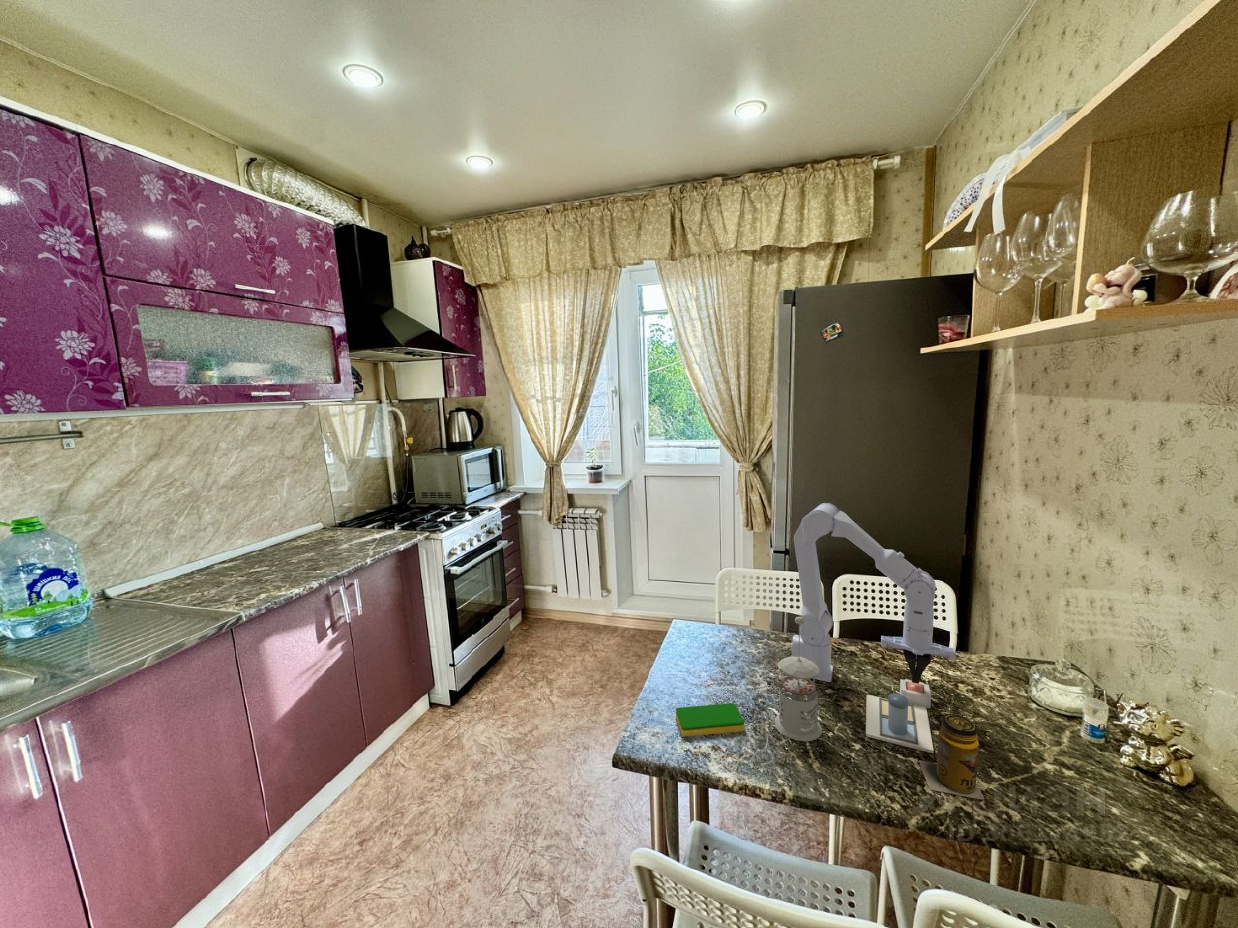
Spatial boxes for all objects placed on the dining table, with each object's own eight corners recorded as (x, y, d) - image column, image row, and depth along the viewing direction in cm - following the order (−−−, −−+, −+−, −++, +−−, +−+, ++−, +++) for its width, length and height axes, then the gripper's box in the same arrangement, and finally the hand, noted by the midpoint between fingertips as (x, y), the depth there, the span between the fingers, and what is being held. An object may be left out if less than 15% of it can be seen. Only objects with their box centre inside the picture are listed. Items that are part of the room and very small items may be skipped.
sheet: (865, 736, 102) (866, 732, 102) (866, 696, 115) (866, 693, 115) (933, 753, 97) (933, 749, 97) (926, 710, 110) (926, 706, 110)
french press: (766, 727, 106) (767, 618, 103) (789, 702, 114) (790, 601, 111) (811, 748, 99) (813, 632, 96) (832, 719, 108) (834, 612, 104)
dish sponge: (745, 732, 105) (745, 722, 105) (682, 738, 104) (682, 728, 104) (734, 711, 112) (734, 702, 112) (675, 717, 111) (675, 707, 111)
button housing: (901, 702, 113) (901, 690, 112) (899, 689, 118) (900, 677, 117) (930, 709, 110) (931, 697, 110) (928, 695, 115) (928, 683, 115)
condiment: (985, 800, 85) (989, 737, 84) (929, 790, 88) (933, 729, 86) (969, 770, 92) (973, 711, 91) (918, 761, 95) (921, 704, 93)
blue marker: (887, 731, 102) (887, 700, 101) (888, 721, 105) (888, 691, 104) (907, 737, 100) (908, 706, 99) (908, 726, 103) (908, 696, 102)
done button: (907, 699, 113) (908, 687, 113) (906, 692, 116) (907, 680, 115) (922, 702, 112) (923, 690, 111) (921, 695, 114) (922, 683, 114)
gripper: (882, 627, 111) (880, 682, 113) (959, 639, 105) (955, 698, 106) (882, 614, 117) (879, 667, 119) (954, 626, 111) (950, 681, 113)
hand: (915, 680), depth 113 cm, fingers closed
